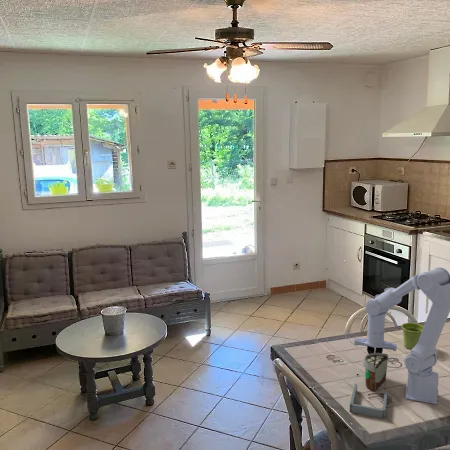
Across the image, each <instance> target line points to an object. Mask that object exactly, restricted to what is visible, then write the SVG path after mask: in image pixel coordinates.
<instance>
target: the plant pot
mask: <svg viewBox="0 0 450 450" xmlns="http://www.w3.org/2000/svg"><path fill="white" fill-rule="evenodd" d="M423 327H424V325H422V324H419V323H415V322H405V323H404V322H403V324H401V328H402V332H403V333H402V334H403V342H404V343H403V345H404V347H405V348H406V349H408V350H410V351H411V350H412V349H413V348H414V347H415V345H416V344H417V343H418V340H419V338H420V335H421V333H422V330H423Z"/></svg>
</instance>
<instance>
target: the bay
mask: <svg viewBox="0 0 450 450" xmlns="http://www.w3.org/2000/svg"><path fill="white" fill-rule="evenodd" d="M357 392H358V383H354V385H353V390H352V394H351V397H350V401H349V412H350V413H354V414H360V415H365V416H370V417H373V418H374V417H375V418H380V419H386V410H387V402H388V388H384V395H383V403H382V408H377V407H372V406H368V405H367V406H366V405H362V404H356V403H355V401H356V398H357Z"/></svg>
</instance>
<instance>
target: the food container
mask: <svg viewBox="0 0 450 450" xmlns="http://www.w3.org/2000/svg"><path fill="white" fill-rule="evenodd" d="M388 360H389V354H388V353H383V352H382V353H371V354H368V353H367V355H365V357H364V359H363V362H362V365H363V367H364V370H365V371H364V372H365V376H364V377H365V386H366V388H367V390H369V391H371V392H372V393H377V391H379V390H380V388H381V387H382V386H383V385H384V384H385V383H386V382H387V380H386V379H387V370H388Z"/></svg>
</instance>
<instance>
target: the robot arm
mask: <svg viewBox="0 0 450 450" xmlns="http://www.w3.org/2000/svg"><path fill="white" fill-rule="evenodd" d="M414 290H418V291H421V292H422V293H423V294H424V295H425V296H426V297H427V298H428V299H429V300H430V302H431V303H432V304H431V306H430V309H429V312H428V315H427V317H426V320H425V322H424V324H423V326H424V327H423V330H422V333H421V335H420V338H419V340H418V343H417V344H416V345H415V347H414V348H413V349H412V350H411V349H410V352H409V354H408V355H406V356H405V357H404V365H405V368H406V369H407V372H408V373H407V385H406V386H405V399H406V400H410V401H416V402H422V403H428V404H434V405H437V404H438V396H439V373H438V372H436V371H433V368H434V366H435V365H436V364H437V362H438V357H437V355H438V352H439V351H438V349H437V348H436V347H437V344H438V342H439V339H440V336H441V334H442V331H443V329H444V326H445V324H446V323H447V319H448V317H449V314H450V272H449V271H448V270H447V269H446V268H443V267H436V268H434V269H431V270H428V271H423V272H420V273H419V274H416V275H414V276H412V277H410V278H409V279H408V280H406V281H404V283H402V284H400V285H399V286H398V287H396V288H395V287H386V288H385V289H384V290H383V291H384V292H382V293H380V294H376V295H375V298H371V299H368V300H367V301H366V302H365V305H364V309H365V311H366V313H367V335H366V336H367V337H366V338H357V337H356V338H354V340H353V341H354V342H353V343H354V344H353V345H354V346H364V347H366V352H367V355H368V354H371V353H383V352H384V349H385V350H389V351H390V350H391V351H393V352H397V349H398V348H397V347H398V346H397V345H398V344H397V343H392V342H388V341H386V340H385V324H386V323H385V321H386V316H387V313H388V311H389V310H390V309H392V308H393V307H395V306H396V305H398V304H400V303H401V302H402V300H403V297H404V296H405V295H408V294H409V293H411V292H414Z"/></svg>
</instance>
